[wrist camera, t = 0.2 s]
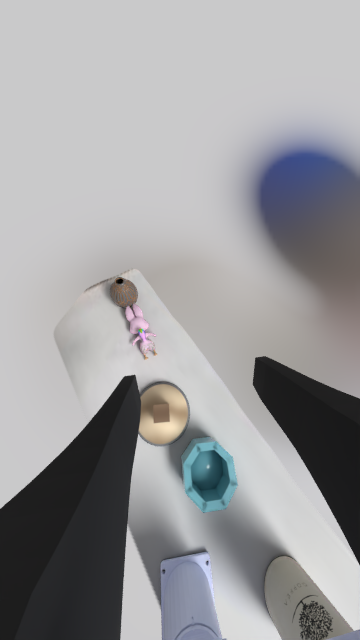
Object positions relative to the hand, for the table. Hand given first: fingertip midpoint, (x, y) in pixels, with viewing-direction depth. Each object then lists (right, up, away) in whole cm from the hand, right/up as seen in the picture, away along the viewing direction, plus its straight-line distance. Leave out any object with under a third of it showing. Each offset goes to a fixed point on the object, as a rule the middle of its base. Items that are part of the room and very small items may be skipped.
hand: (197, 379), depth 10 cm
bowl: (+4, -25, +23) cm, 34 cm away
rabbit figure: (-11, 0, +34) cm, 36 cm away
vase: (-16, +9, +38) cm, 42 cm away
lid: (-5, -16, +26) cm, 31 cm away
